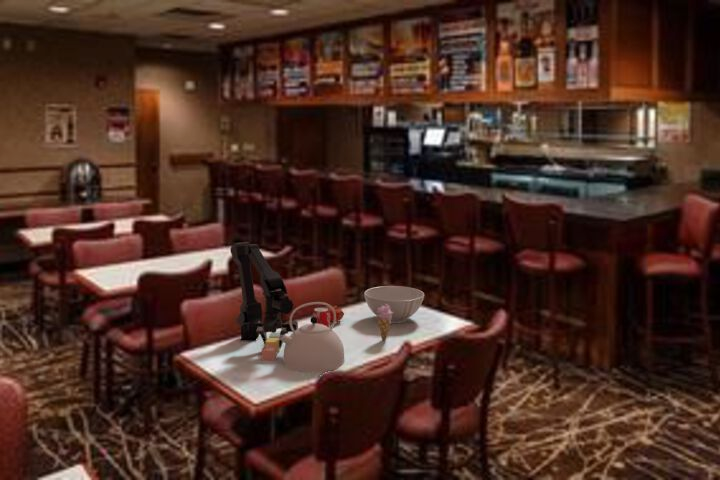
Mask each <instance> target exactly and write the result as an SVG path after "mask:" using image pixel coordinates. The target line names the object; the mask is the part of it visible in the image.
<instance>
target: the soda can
mask: <svg viewBox="0 0 720 480" xmlns="http://www.w3.org/2000/svg"><path fill="white" fill-rule="evenodd" d="M313 316H315V317H316V318H317V322H316V324H322V325H325V326H327V327H329V328H330V327H331V323H330V313H329V311H328V309H327V308H325V307H315V308H314V309H313V312H312V317H313Z"/></svg>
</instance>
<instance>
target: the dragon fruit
mask: <svg viewBox="0 0 720 480" xmlns="http://www.w3.org/2000/svg"><path fill="white" fill-rule="evenodd" d="M332 307H333V309H334V310H335V313H336V322H335V324H336V323H337V324H339V323H340V322H342V321H341V320H342V319H343V318H344V315H345V313H344V311H343V310H342V308H338V306H337V305H334V306H332ZM324 308H327V309H328V311H329V313H330V324H331V325H332V324H333V321H334V314H333V311H332V310H331V308H329V307H328V306H324ZM338 322H339V323H338Z"/></svg>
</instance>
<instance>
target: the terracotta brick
mask: <svg viewBox="0 0 720 480" xmlns="http://www.w3.org/2000/svg"><path fill="white" fill-rule="evenodd" d="M276 357H278V352H277V346H265V345H263V347H262V349H261V361H276V359H277V358H276Z"/></svg>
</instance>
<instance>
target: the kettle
mask: <svg viewBox="0 0 720 480" xmlns="http://www.w3.org/2000/svg"><path fill="white" fill-rule="evenodd" d="M313 305H324V306H325V307H329V308H331V310H332V311H333V314H334V321H333V324H332V323H331V325H330V328H329V327H327V326H325V325H322V324H316V322H317V318H316V317H315V316H313V315H312V316H311V317H310V320H309V321H310V323H307V324H304V325H301V326H299V327H298V328H297V330H295V331H294V329H293V326H292V321H293V317H294V315H295V313H296V312H297V311H298V310H300V309H301V308H304V307H308V306H313ZM333 307H334V306H332V305H331V304H329V303H327V302H324V301H323V302H322V301H313V302H306V303H304V304H301V305H299V306H297V307H296V308H295V309H294V310H292V311H291V314H290V316H289V320H288V321H289V323H290V327H291V330H292V332H291V334H290V336H288V335H286V334H285V335H280V336H279V337H278V339H280V340H281V341H283V344H285V345H284V349H283V360H282V362H283V365H284V366H285V367H287V368H288V369H290V370H294V371H297V370H298V372H303V371H305V372H303V373H323V372H328V371H327V370H329V371H333V370H336V369H338V368H340V367H342V366H343V365H344V363H345V361H346V359H345V350H344V344H343V342H342V340H341V338H340V337H339V335H338V334H337V332H335V331H334V330H333V328H334V326H335V324H336V323H335V322H336V313H335V310H334V309H333ZM321 371H322V372H321Z"/></svg>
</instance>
